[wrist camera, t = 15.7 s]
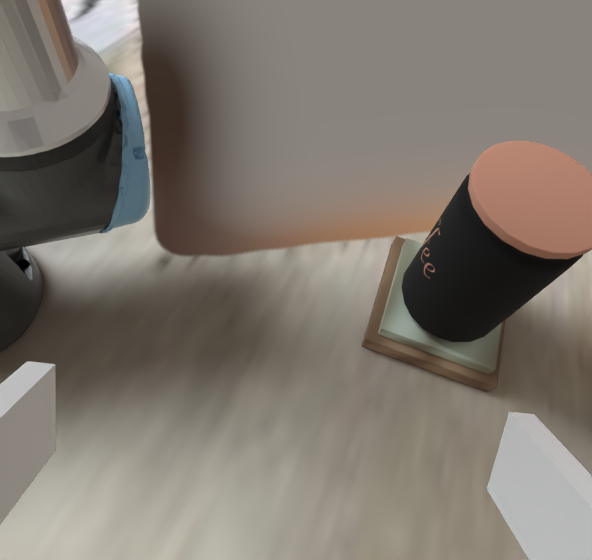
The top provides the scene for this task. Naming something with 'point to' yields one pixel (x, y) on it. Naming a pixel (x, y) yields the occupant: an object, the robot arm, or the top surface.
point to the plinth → (415, 353)
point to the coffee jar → (500, 240)
